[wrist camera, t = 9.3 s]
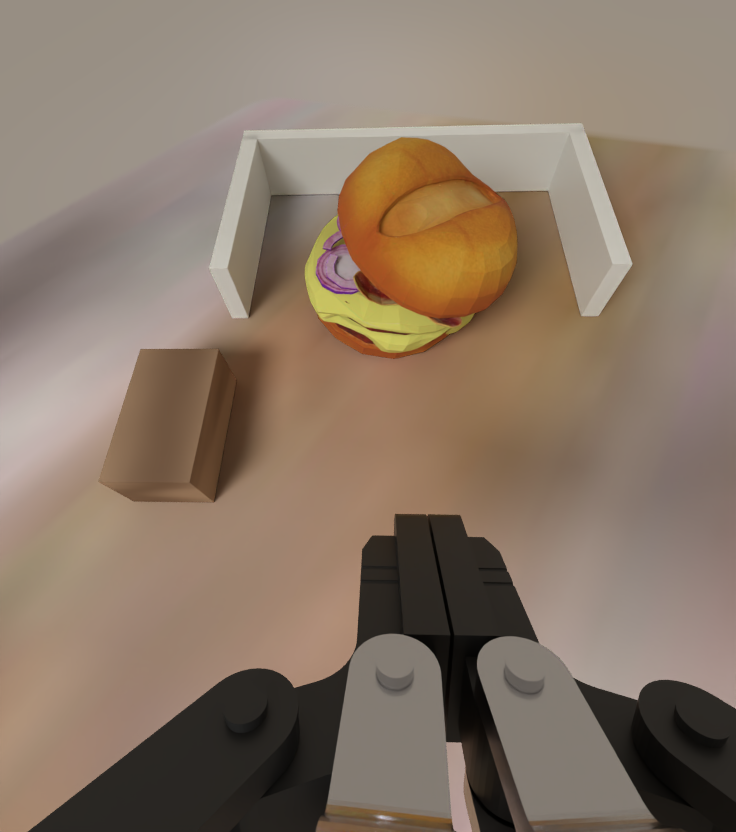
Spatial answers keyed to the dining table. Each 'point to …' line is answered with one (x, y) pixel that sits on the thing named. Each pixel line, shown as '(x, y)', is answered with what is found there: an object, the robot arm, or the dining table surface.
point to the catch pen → (478, 151)
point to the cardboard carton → (171, 427)
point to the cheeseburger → (410, 251)
